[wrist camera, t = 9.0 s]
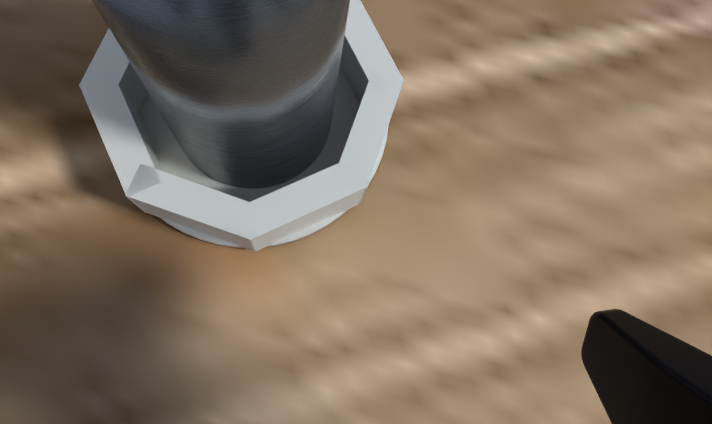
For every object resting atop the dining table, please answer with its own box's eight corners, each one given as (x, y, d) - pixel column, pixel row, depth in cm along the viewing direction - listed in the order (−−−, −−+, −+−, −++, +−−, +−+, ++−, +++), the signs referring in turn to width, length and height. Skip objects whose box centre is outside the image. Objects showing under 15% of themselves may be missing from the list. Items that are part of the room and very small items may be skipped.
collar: (336, 287, 18) (342, 279, 15) (63, 192, 17) (27, 168, 15) (419, 47, 20) (435, 8, 18) (178, -39, 20) (163, -90, 17)
